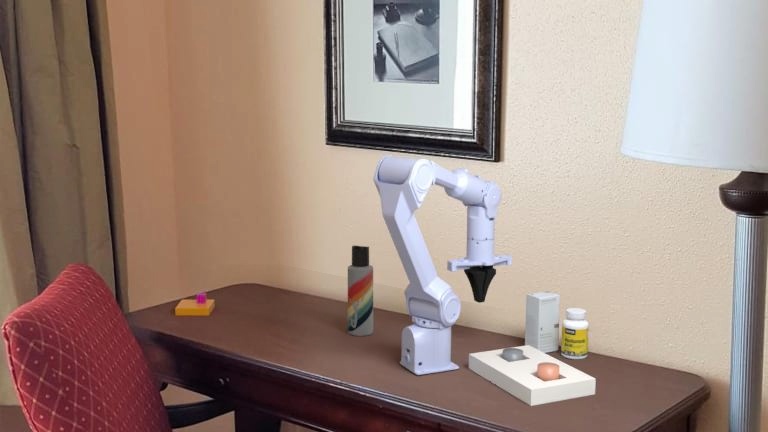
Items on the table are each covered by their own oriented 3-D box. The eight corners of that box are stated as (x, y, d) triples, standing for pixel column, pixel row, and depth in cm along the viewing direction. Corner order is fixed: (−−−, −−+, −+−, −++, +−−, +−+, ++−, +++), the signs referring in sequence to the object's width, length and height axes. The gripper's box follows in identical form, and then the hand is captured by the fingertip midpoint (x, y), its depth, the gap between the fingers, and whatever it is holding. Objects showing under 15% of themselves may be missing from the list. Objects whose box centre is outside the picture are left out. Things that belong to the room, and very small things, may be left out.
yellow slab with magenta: (209, 317, 221) (208, 299, 221) (175, 317, 221) (174, 299, 220) (214, 308, 229) (214, 291, 228) (182, 308, 229) (181, 291, 228)
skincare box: (537, 355, 193) (539, 298, 191) (523, 349, 196) (525, 294, 194) (559, 350, 196) (561, 294, 194) (544, 345, 200) (546, 290, 198)
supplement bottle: (560, 358, 190) (562, 312, 189) (561, 350, 196) (563, 305, 194) (587, 361, 189) (589, 314, 188) (587, 352, 195) (589, 307, 193)
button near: (544, 391, 169) (545, 370, 169) (532, 384, 173) (533, 364, 172) (562, 388, 171) (563, 367, 170) (550, 381, 175) (551, 361, 174)
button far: (509, 375, 180) (509, 355, 179) (498, 369, 184) (498, 349, 183) (526, 372, 182) (527, 352, 181) (515, 366, 185) (515, 347, 185)
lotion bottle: (343, 334, 206) (343, 246, 203) (353, 327, 212) (353, 241, 208) (367, 337, 204) (367, 248, 201) (376, 330, 209) (377, 243, 206)
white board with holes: (530, 405, 165) (531, 389, 164) (468, 368, 184) (468, 353, 184) (595, 394, 170) (595, 378, 170) (528, 359, 190) (528, 345, 190)
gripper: (459, 244, 186) (458, 309, 188) (520, 238, 192) (519, 301, 194) (442, 237, 192) (441, 301, 195) (502, 232, 198) (501, 294, 201)
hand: (479, 301), depth 195 cm, fingers closed
